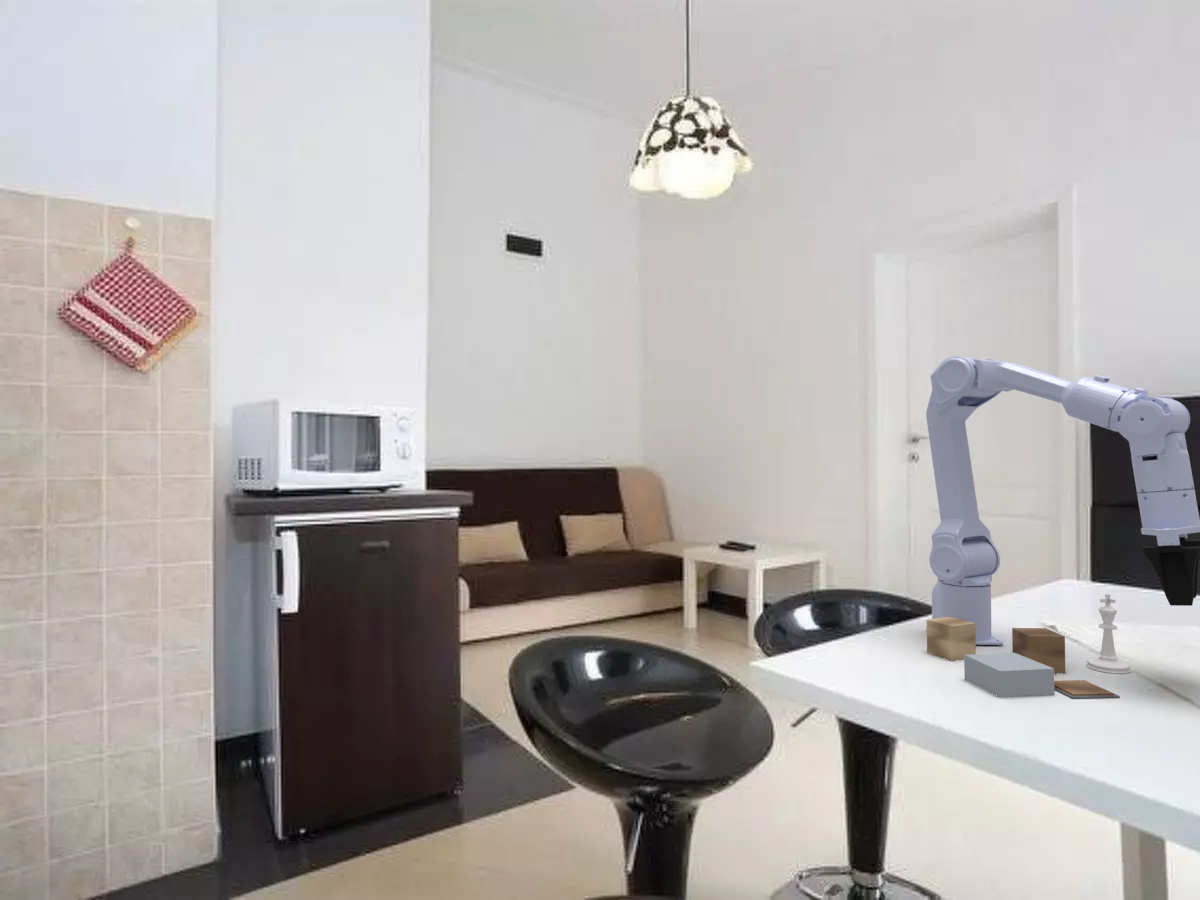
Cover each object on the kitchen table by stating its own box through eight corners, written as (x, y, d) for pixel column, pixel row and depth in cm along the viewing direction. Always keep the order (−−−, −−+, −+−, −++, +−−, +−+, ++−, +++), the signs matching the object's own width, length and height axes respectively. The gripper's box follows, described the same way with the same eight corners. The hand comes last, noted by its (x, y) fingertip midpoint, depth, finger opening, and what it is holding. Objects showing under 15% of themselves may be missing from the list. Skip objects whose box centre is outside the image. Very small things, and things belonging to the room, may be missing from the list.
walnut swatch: (1040, 683, 91) (1040, 679, 91) (1085, 682, 91) (1085, 679, 91) (1072, 698, 85) (1072, 695, 85) (1119, 697, 85) (1119, 694, 85)
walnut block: (1012, 663, 99) (1012, 628, 99) (1046, 664, 99) (1045, 628, 99) (1030, 673, 95) (1029, 636, 95) (1065, 674, 94) (1064, 636, 94)
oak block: (927, 653, 105) (926, 619, 105) (949, 650, 106) (949, 616, 106) (952, 661, 100) (952, 626, 100) (975, 658, 102) (975, 623, 102)
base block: (964, 681, 92) (964, 654, 92) (1014, 679, 93) (1014, 652, 93) (1000, 700, 85) (1000, 671, 85) (1054, 697, 86) (1054, 668, 86)
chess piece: (1138, 674, 94) (1137, 598, 94) (1096, 672, 95) (1095, 597, 95) (1119, 664, 98) (1118, 591, 99) (1079, 662, 99) (1078, 590, 100)
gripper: (1203, 488, 81) (1224, 609, 80) (1209, 488, 92) (1227, 594, 90) (1128, 494, 86) (1146, 608, 84) (1141, 493, 97) (1157, 594, 95)
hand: (1183, 601), depth 88 cm, fingers open, 7 cm apart
